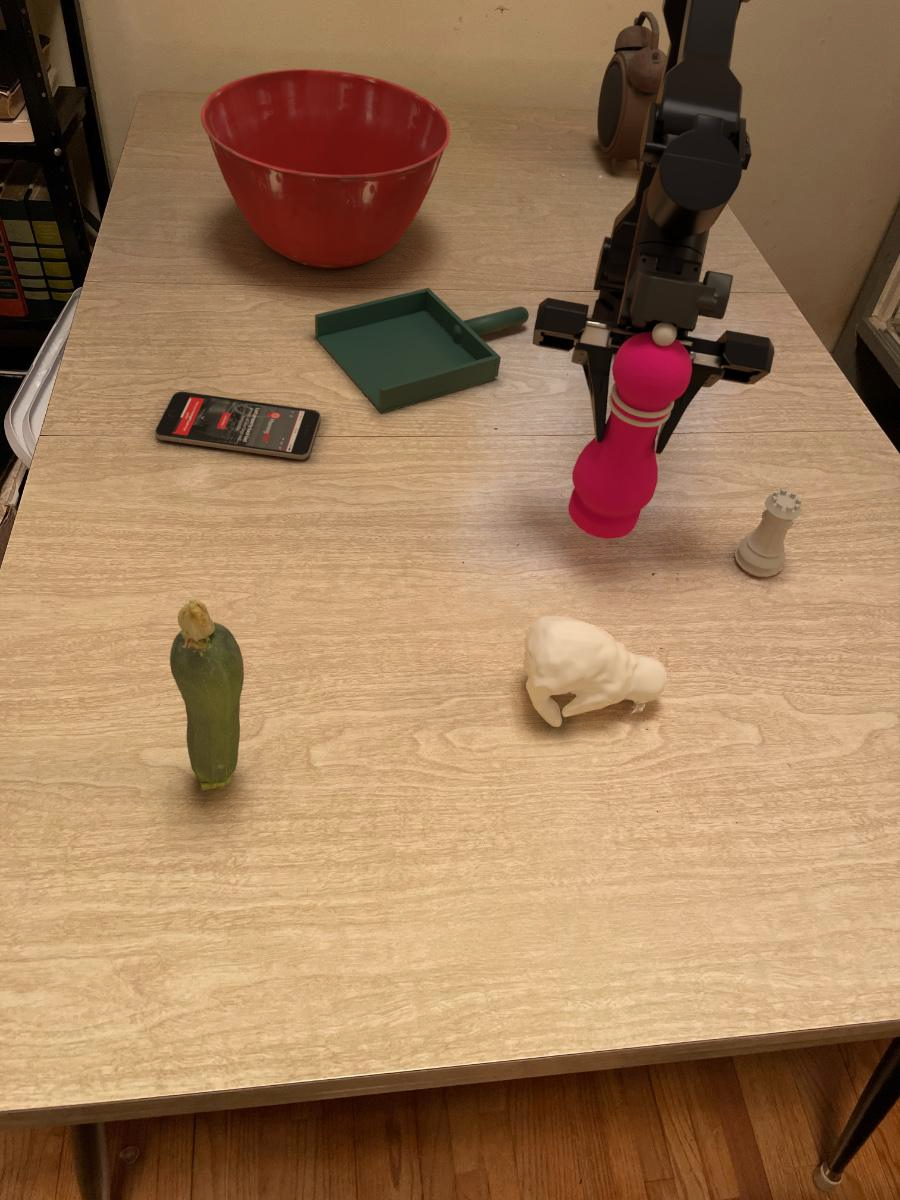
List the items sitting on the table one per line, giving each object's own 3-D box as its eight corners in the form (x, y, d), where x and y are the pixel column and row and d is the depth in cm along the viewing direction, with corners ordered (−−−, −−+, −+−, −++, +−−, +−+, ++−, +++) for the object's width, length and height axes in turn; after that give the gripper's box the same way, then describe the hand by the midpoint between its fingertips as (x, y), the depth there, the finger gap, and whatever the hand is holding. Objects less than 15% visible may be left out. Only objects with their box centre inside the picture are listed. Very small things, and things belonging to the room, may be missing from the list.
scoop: (381, 413, 99) (382, 390, 97) (314, 337, 108) (314, 314, 105) (562, 360, 109) (567, 338, 107) (489, 294, 117) (492, 272, 115)
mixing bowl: (483, 270, 121) (499, 145, 109) (279, 325, 108) (273, 191, 97) (367, 176, 135) (370, 57, 124) (175, 214, 123) (159, 86, 112)
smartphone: (175, 390, 97) (321, 410, 97) (176, 396, 98) (321, 416, 98) (152, 434, 92) (307, 456, 92) (153, 440, 93) (307, 462, 93)
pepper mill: (586, 552, 83) (652, 360, 67) (548, 495, 87) (601, 302, 71) (656, 533, 85) (735, 345, 70) (616, 479, 89) (681, 289, 74)
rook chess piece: (781, 584, 88) (814, 520, 82) (733, 574, 88) (762, 510, 83) (780, 551, 91) (811, 487, 85) (733, 541, 91) (761, 477, 86)
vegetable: (195, 750, 71) (161, 560, 56) (255, 749, 71) (237, 560, 56) (189, 803, 68) (152, 617, 53) (252, 802, 68) (232, 617, 53)
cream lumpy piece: (530, 594, 72) (680, 606, 74) (504, 664, 78) (643, 673, 81) (541, 661, 68) (699, 671, 70) (513, 729, 74) (659, 736, 76)
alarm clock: (583, 140, 151) (611, -5, 136) (628, 142, 152) (660, -1, 137) (603, 182, 141) (635, 32, 126) (650, 184, 142) (688, 36, 127)
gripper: (558, 198, 70) (516, 412, 71) (815, 243, 69) (769, 459, 70) (551, 247, 81) (515, 431, 82) (772, 286, 80) (733, 472, 81)
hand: (628, 447), depth 78 cm, fingers closed on pepper mill, 4 cm apart
